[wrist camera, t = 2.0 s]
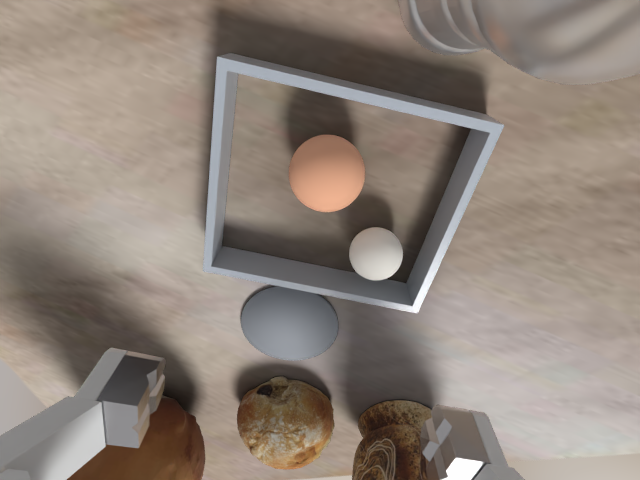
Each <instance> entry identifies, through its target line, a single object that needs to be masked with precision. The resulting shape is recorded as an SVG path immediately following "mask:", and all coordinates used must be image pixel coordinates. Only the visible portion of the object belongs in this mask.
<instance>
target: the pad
mask: <svg viewBox="0 0 640 480" xmlns="http://www.w3.org/2000/svg"><path fill="white" fill-rule="evenodd" d="M241 327H242V330H243V333H244V335H245V337H246V338H247V340H248V341H249V342H250V343H251V344H252V345H253V346H254V347H255V348H256V349H258V350H259V351H261V352H262V353H264V354H266V355H269V356H271V357H274V358H278V359H282V360H304V359H309V358H312V357H315V356H317V355H319V354H321V353H323V352H324V351H326V350H327V349H328V348H329V347H330V346H331V345H332V344H333V342H334V340H335V338H336V336H337V332H338V319H337V315H336V313H335V311H334V309H333V307H332V306H331V305H330V304H329V302H328V301H327V300H325V299H324V298H323V297H322V296H320V295H319V294H316V293H311V292H306V291H301V290H296V289H291V288H285V287H280V286H275V287H270V288H267V289H264V290H262V291H260V292H258V293H257V294H255V295H254V296H253V297H252V298H251V299H250V300H249V301H248V302H247V303H246V305H245V307H244V309H243V312H242V316H241Z"/></svg>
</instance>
